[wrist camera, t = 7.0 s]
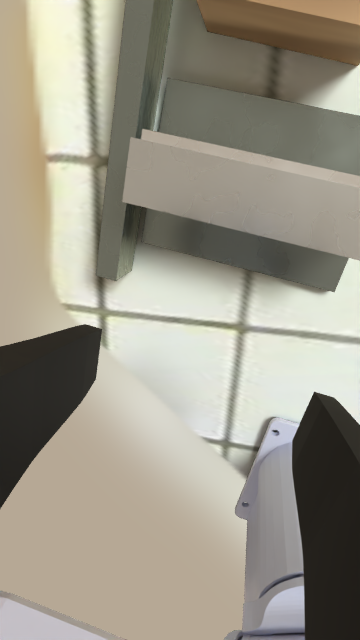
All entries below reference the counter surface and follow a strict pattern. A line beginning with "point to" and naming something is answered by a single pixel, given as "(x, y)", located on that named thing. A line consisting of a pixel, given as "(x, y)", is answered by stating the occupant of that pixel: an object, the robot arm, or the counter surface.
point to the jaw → (245, 192)
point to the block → (290, 25)
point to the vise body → (220, 129)
